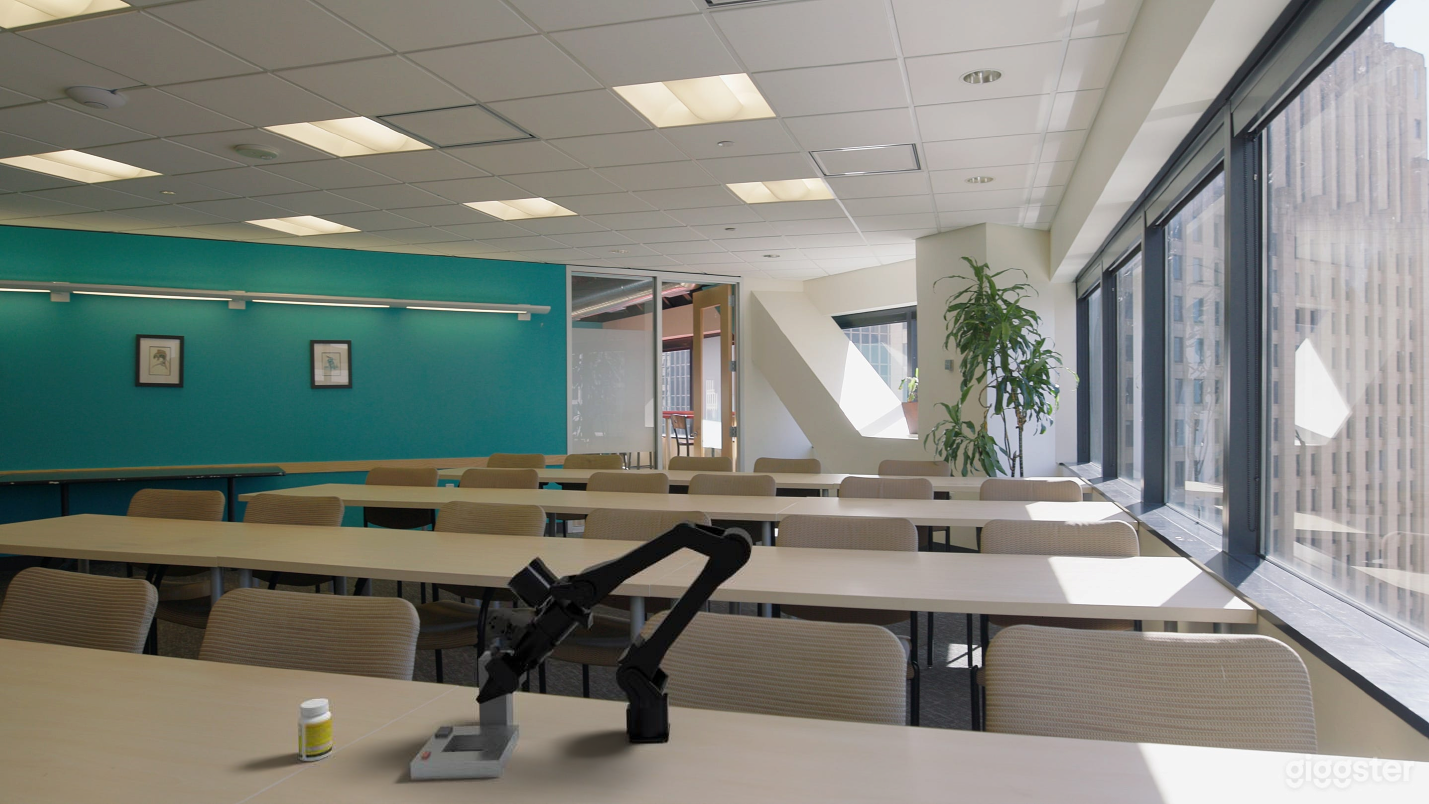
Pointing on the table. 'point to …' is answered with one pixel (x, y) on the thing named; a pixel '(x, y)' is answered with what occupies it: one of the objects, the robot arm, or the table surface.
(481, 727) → the socket
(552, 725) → the table surface
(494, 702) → the plug
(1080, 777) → the table surface
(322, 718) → the supplement bottle
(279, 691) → the table surface
